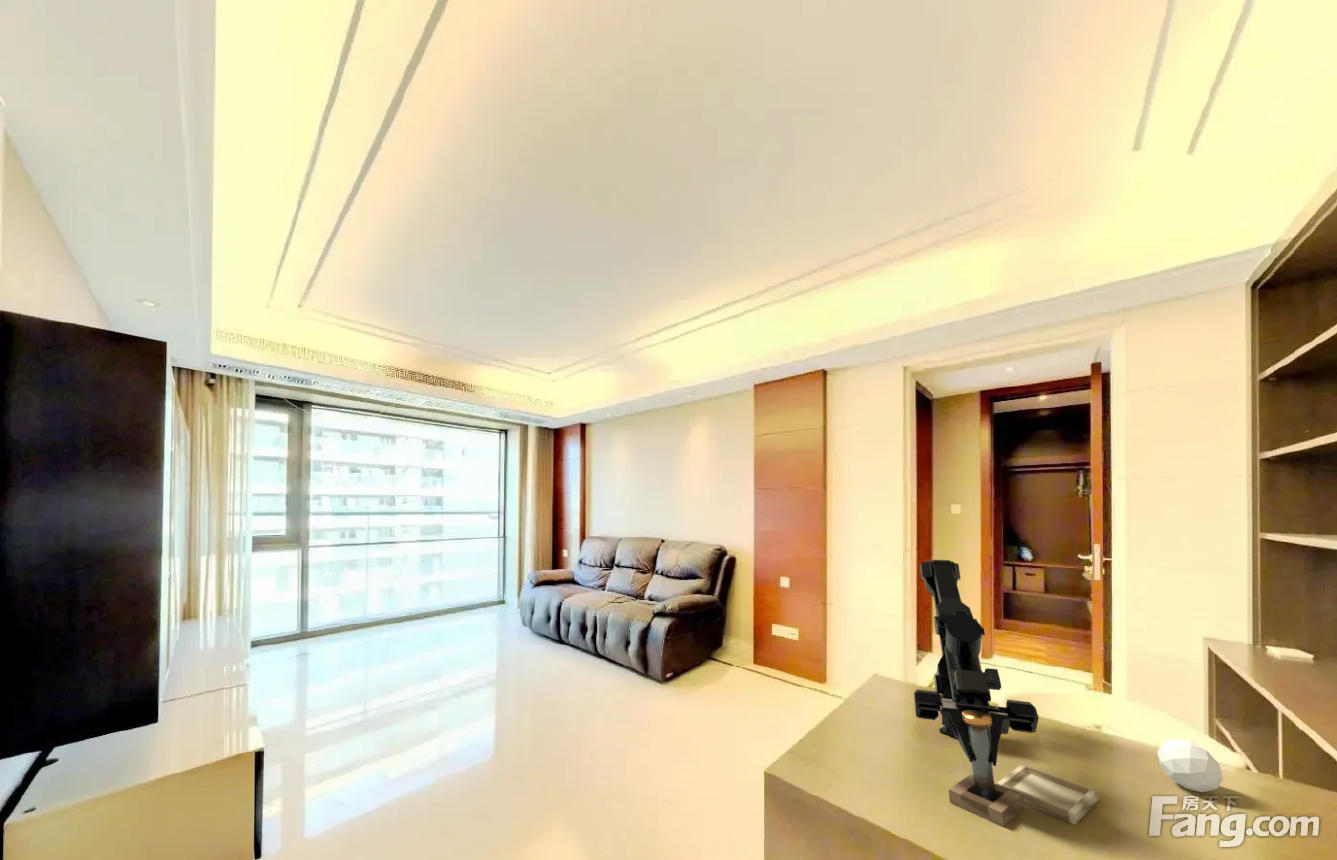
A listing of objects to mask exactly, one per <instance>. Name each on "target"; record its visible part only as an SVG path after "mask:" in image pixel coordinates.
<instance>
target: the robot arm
mask: <svg viewBox="0 0 1337 860" xmlns="http://www.w3.org/2000/svg"><path fill="white" fill-rule="evenodd" d="M919 567H920V568H919V570H920V578H921V580H924V586H925V589H926V590H927V592H928V594H930V595H931V596H932V597H933V601H934V603H933V604H934V609H935V616H933V617H934V618H933V620H934V621H933V622H934V630H935V634H936V635H937V636H939V641H940V648H941V649H940V650H941V657H940V658H939V660H938V663H937V667H936V674H934V690H926V689H916V690H915V691H914V692H913V696H914V697H913V698H914V708H915V710H914V711H915V717H917V718H918V719H924V720H932V721H935V720H937V719H938V718H939V714H940V715H941V725H942V727H940V728H939V729H938V731H939V733H942V734H945V735H947V736H951V737H954V738H956V739H957V742H958V743H959V745H960V746H961V748H962V750H963V752H964V754H965V756H966V758H967V760H968V761H969V763H972V762H973V758H972V752H971V748H970V742H969V733H968V724H967V723H966V722H964V721H963V719H962V711H965V710H976V711H981V712H984V713H987V714H989V715H990V716H991V717H992V726H990V727H988V731H989V740H990V749H991V757H992V766H994V767H996V766H997V760H998V749H999V743H1000V740H1001V737H1002V735H1008V734H1009V731H1010V729H1011V730H1012V731H1014V732H1021V733H1029V734H1033V733H1036V731H1037V728H1038V723H1039V714H1038V711H1037V708H1036V706H1035V705H1033V703H1032V702H1030V701H1022V700H1014V699H1006V703H1005V704H1006V706H1005V707H1004V706H995V705H990V702H991V701H992V696H991V691H990V690H992V691H993V690H994V691H1000V690H1001V689H1002V683H1001V678H1000V674H999V670H998V669H997V668H989V667H988V668H987V667H986V668H985V669H984V671H983V670H982V665H981V661H980V653H981V649H982V638H983V636H985V635H986V634H985V628H984V627H983V626H982V625H981V624H980V623H979V620H977V618H974V616H973V613H972V610H971V607H969V606H968V605H967V604H965V603H964V602H963V601H962V599H961V598H962V597H961V595H960V591H959V587H958V581H960V580H961V571H960V565H959V563H956V562H954V561H952V560H950V559H932V560H924V562H920V564H919Z"/></svg>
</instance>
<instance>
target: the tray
mask: <svg viewBox="0 0 1337 860" xmlns="http://www.w3.org/2000/svg"><path fill="white" fill-rule="evenodd" d="M996 785H999V786H1001V787H1004V788H1006V789H1009V790H1011V791H1014V792H1016V793H1019V794H1021V795H1022V796H1023V805H1027V806H1029V807H1032V808H1034V809H1036V810H1039V811H1042V812H1043V813H1046V814H1047V815H1048V814H1049V815H1051V816H1053V817H1056V818H1058V819H1061V820H1063V821H1065V822H1068V823H1070V824H1073V825H1076V826H1077V825H1078V824H1079V822H1080V821H1081V820H1082V819H1083V818H1084V817H1085V816H1086V815H1087V814H1088V812H1089V811H1091V809H1092V808H1094V806H1095V805H1096V804H1097V803H1098V802H1099V800H1100V799H1099V794H1098V790H1097V789H1095V788H1091V787H1088V786H1086V785H1084V784H1080V783H1078V782H1075V781H1072V780H1069V779H1066V778H1063V777H1060V776H1058V775H1055V774H1052V773H1049V772H1047V771H1045V770H1041V769H1039V768H1036V767H1032V766H1029V765H1027V764H1024V763H1021V764H1020V765H1018V766H1017V767H1016V768H1015V769H1013V770H1012V771H1011V772H1010V773H1008V774H1006V775H1005V776H1004V777H1003V778H1002V779H1000V780H999V781H998V782H996ZM1097 801H1098V802H1097ZM1096 802H1097V803H1096ZM1095 803H1096V804H1095ZM1094 804H1095V805H1094ZM1091 807H1092V808H1091ZM1090 808H1091V809H1090ZM1086 813H1087V814H1086ZM1085 814H1086V815H1085Z"/></svg>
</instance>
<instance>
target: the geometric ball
mask: <svg viewBox="0 0 1337 860" xmlns="http://www.w3.org/2000/svg"><path fill="white" fill-rule="evenodd" d="M1157 757H1158V761H1159V764H1160V767H1161V768H1162V770H1163V771H1164V772H1165V774H1166V775H1167V776H1168V777H1169V778H1170V779H1171V780H1173V781H1174V782H1176V783H1177V784H1179V786H1182V787H1183V788H1185V789H1186V790H1187V789H1189V790H1188V791H1193V792H1198V793H1206V792H1209V791H1211V792H1212V791H1214V790H1218V789H1219V787H1220V785H1221V783H1222V781H1223V779H1224V776H1223V773H1222V770H1221V769H1222V768H1221V764H1220V763H1219V761H1218V760H1216V759H1215V757H1214V756H1212V754H1210V752H1209V751H1207V749H1205V748H1204V747H1202V746H1200V745H1199V744H1197V743H1196V742H1194V741H1192V740H1188V739H1187V740H1186V739H1180V738H1179V739H1178V738H1175V739H1174V738H1173V739H1170V740H1168V741H1163V742H1162V743H1161V745H1160V747H1159V748H1158V750H1157Z"/></svg>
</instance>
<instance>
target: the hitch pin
mask: <svg viewBox="0 0 1337 860" xmlns="http://www.w3.org/2000/svg"><path fill="white" fill-rule="evenodd" d="M962 719H963V721H964V722H966V723H967V724H968V733H969V744H970V748H971V752H972V758H973V762H971V767H972V775H973V779H974V789H975V795H977V796H979V797H982V798H984V799H986V800H989V801H991V802H995V801H996V793H995V784H996V783H995V777H994V768H993V763H992V757H991V749H990V740H989V731H988V727H990V726H992V717H991V716H990V715H989V714H987V713H984V712H981V711H976V710H965V711H962Z"/></svg>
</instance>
